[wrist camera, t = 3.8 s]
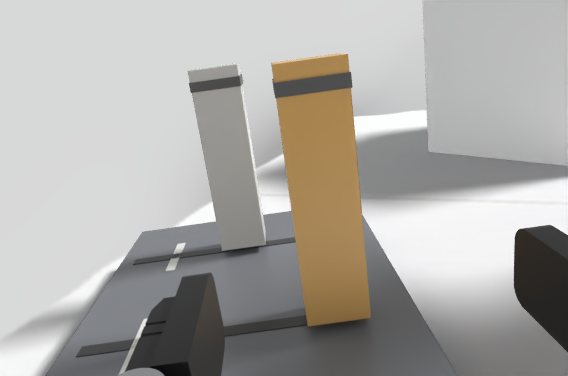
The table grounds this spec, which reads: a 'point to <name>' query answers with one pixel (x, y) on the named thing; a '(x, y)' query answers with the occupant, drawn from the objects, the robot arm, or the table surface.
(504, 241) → the table surface
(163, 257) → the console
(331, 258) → the amber fader
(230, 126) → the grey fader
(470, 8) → the cube
